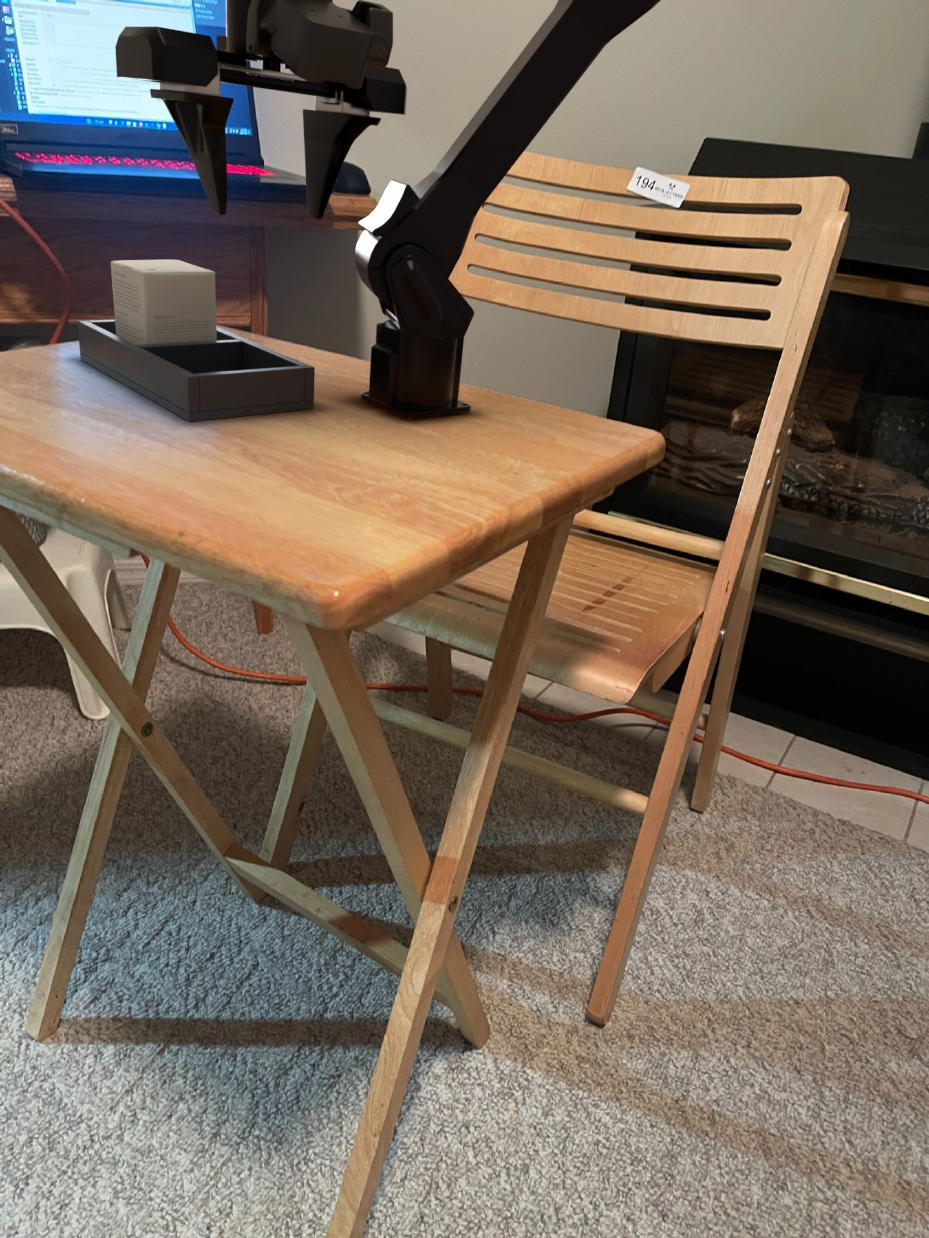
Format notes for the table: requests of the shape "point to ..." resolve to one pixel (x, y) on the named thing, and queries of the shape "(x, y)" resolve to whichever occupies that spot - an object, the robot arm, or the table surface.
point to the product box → (163, 301)
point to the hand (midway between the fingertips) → (269, 217)
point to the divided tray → (201, 373)
